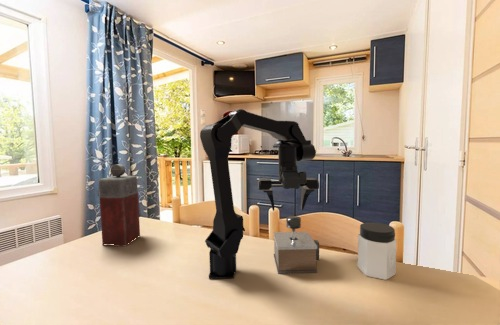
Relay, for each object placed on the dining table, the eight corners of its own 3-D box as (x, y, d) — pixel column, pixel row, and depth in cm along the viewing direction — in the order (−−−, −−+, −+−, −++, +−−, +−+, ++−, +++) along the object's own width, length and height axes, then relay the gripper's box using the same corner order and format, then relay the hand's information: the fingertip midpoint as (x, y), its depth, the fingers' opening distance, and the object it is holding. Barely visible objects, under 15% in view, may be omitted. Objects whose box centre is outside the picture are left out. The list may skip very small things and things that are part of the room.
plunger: (281, 262, 66) (281, 223, 65) (278, 250, 74) (277, 214, 73) (311, 262, 66) (311, 222, 65) (304, 249, 74) (304, 213, 73)
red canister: (143, 234, 95) (140, 162, 93) (125, 246, 84) (121, 165, 82) (122, 233, 96) (118, 162, 94) (102, 245, 85) (96, 165, 83)
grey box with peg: (277, 273, 65) (277, 246, 64) (273, 255, 75) (273, 232, 74) (323, 272, 65) (323, 245, 64) (313, 254, 75) (313, 231, 74)
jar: (382, 283, 59) (383, 235, 58) (352, 269, 66) (352, 226, 65) (400, 272, 64) (402, 227, 63) (370, 260, 71) (371, 220, 70)
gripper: (259, 164, 69) (260, 218, 70) (324, 163, 69) (324, 217, 71) (257, 161, 80) (258, 208, 81) (314, 160, 81) (314, 207, 82)
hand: (287, 210), depth 79 cm, fingers open, 9 cm apart
